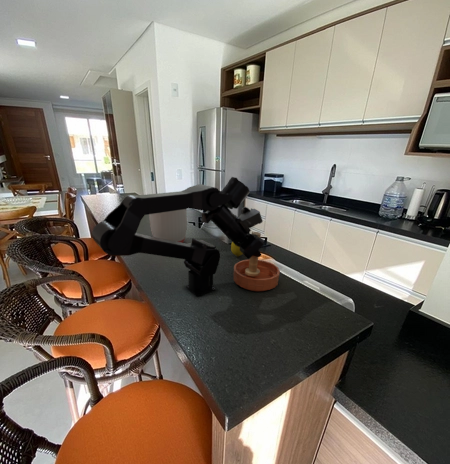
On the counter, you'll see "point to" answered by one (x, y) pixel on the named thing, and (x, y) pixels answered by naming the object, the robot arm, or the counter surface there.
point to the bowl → (257, 283)
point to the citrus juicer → (169, 225)
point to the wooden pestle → (253, 263)
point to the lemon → (235, 250)
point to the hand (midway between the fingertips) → (258, 254)
